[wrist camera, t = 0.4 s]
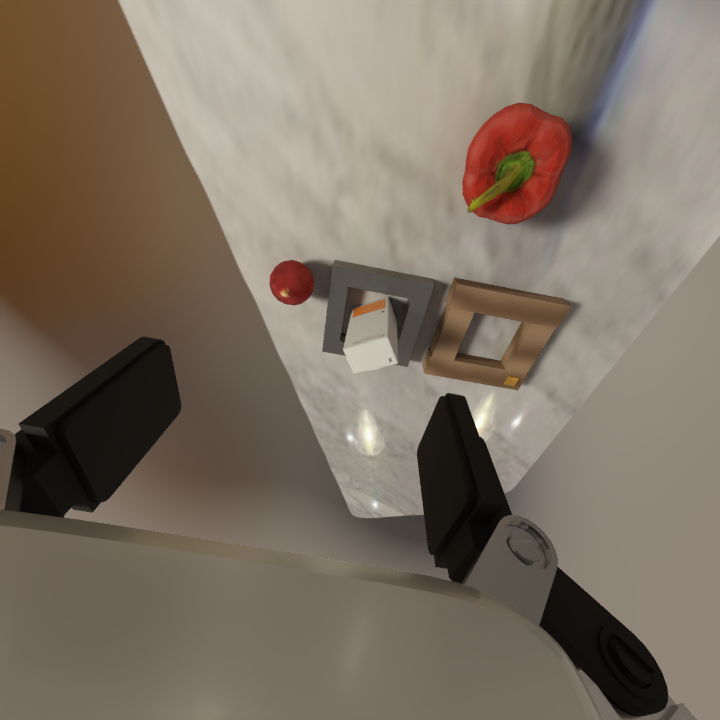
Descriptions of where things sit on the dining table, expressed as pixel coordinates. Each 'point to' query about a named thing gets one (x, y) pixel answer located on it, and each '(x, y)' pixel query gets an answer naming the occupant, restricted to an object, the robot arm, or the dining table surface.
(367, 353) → the skincare box
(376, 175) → the dining table surface
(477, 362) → the frame
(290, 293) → the onion
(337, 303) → the gray square frame
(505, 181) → the vegetable
